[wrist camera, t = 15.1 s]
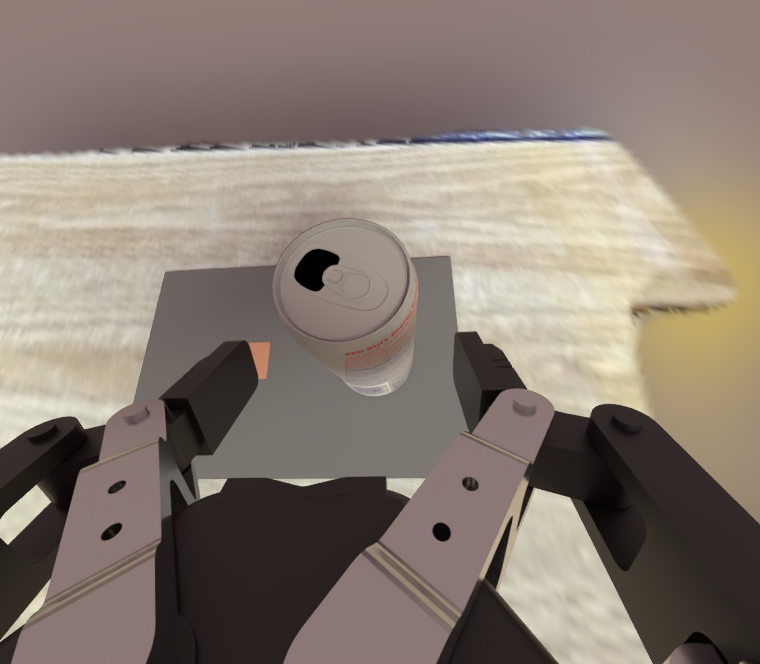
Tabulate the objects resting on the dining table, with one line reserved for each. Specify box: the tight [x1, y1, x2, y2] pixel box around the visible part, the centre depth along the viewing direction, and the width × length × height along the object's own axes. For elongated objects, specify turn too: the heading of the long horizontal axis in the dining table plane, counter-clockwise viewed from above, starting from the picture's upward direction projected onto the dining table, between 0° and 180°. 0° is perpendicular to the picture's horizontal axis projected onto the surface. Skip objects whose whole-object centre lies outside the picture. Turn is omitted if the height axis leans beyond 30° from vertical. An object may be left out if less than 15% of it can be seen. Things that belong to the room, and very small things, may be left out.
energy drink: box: [272, 218, 418, 396], centre depth 16 cm, size 5×5×12 cm
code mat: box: [133, 257, 468, 479], centre depth 22 cm, size 24×16×1 cm, turn 91°
